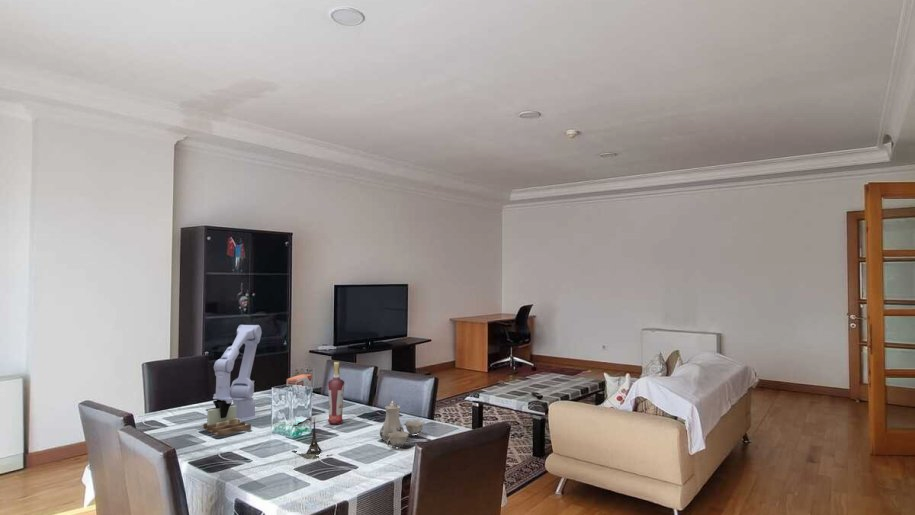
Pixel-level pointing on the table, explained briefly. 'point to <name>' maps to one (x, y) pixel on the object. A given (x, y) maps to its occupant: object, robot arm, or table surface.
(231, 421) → the offcut
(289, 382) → the cracker box
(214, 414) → the pale green slab
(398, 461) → the table surface
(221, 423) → the offcut
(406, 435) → the chinaware
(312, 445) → the eiffel tower figurine
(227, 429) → the rack
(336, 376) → the liquor
